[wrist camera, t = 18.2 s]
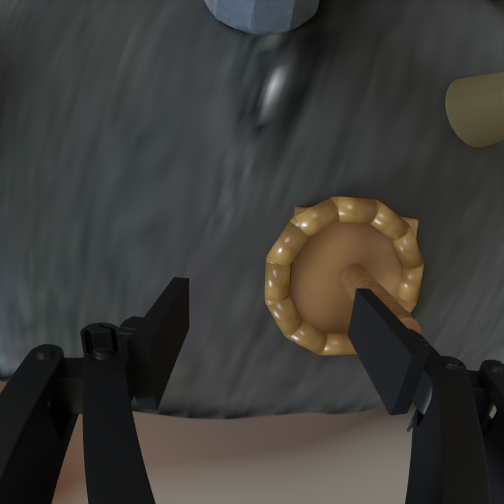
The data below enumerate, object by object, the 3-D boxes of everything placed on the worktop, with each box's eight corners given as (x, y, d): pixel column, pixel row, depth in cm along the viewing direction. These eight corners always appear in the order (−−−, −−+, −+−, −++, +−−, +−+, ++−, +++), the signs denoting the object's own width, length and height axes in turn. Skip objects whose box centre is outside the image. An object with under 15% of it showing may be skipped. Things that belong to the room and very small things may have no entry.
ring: (262, 347, 23) (261, 358, 22) (268, 192, 21) (268, 193, 19) (401, 345, 23) (408, 355, 21) (424, 203, 20) (435, 205, 19)
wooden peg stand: (283, 325, 24) (293, 415, 14) (294, 206, 22) (320, 230, 12) (391, 328, 24) (447, 404, 14) (412, 217, 22) (496, 248, 12)
